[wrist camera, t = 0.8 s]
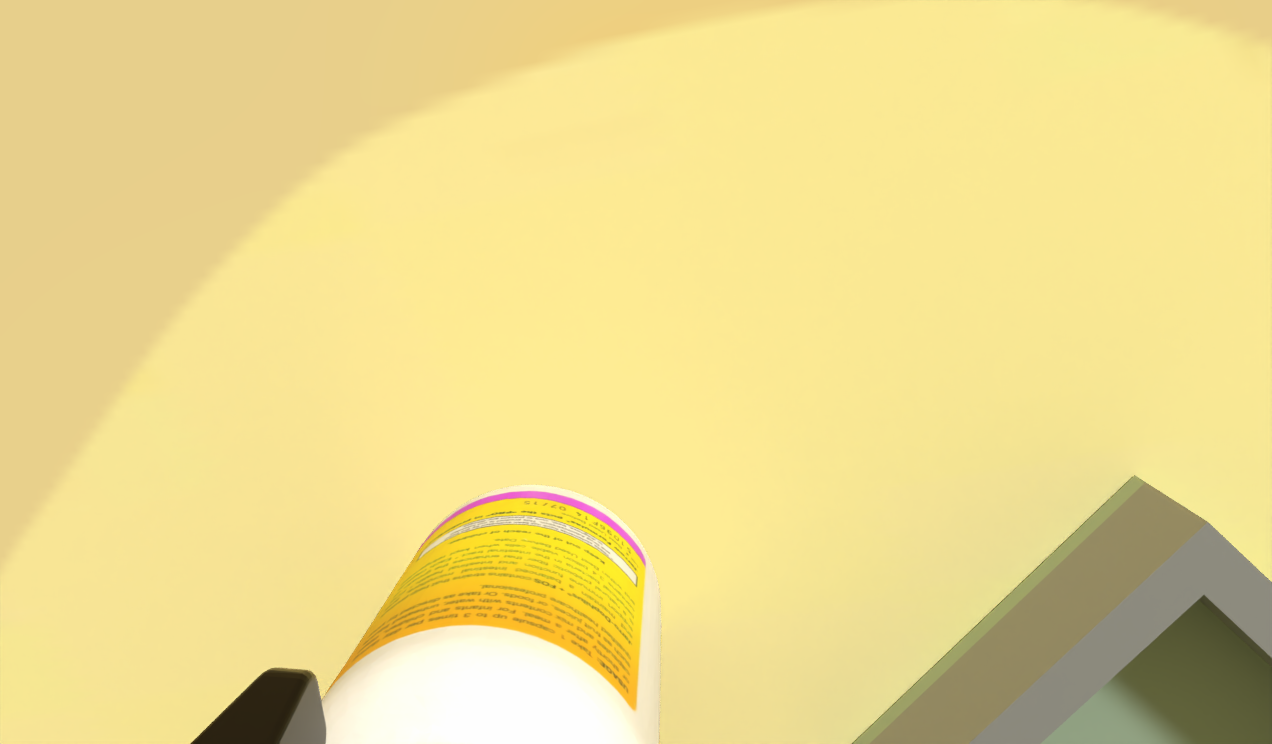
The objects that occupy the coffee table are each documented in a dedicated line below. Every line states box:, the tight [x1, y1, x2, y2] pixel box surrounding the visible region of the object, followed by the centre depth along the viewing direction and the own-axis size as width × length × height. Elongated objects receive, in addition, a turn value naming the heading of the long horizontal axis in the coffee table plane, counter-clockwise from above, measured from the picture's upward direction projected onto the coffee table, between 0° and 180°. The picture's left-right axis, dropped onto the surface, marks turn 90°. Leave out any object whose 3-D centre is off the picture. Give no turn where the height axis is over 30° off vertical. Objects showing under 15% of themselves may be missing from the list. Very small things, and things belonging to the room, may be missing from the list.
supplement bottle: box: [321, 485, 661, 744], centre depth 21 cm, size 7×7×13 cm
